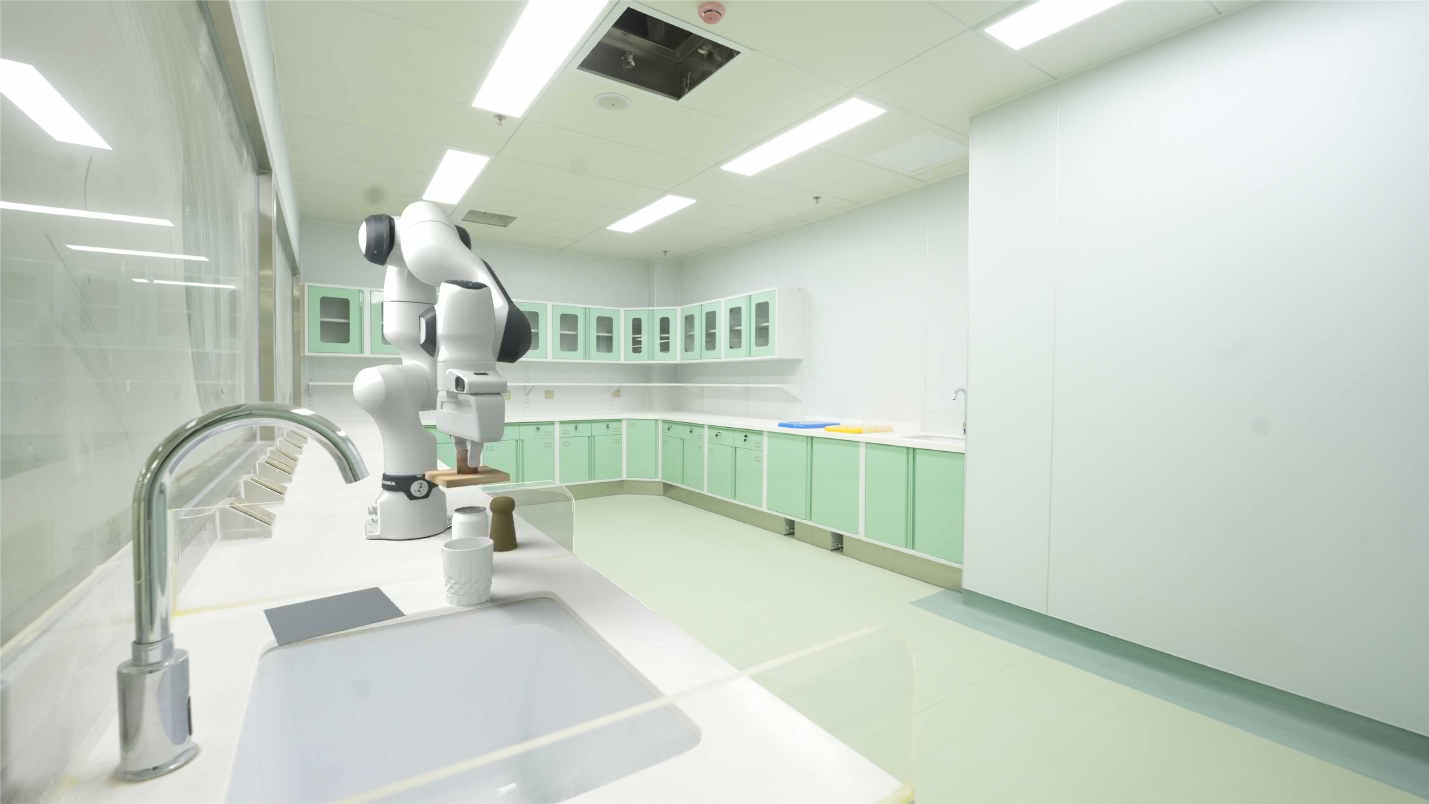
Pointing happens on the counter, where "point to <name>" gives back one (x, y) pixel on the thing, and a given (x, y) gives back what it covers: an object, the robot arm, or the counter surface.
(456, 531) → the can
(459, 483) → the lid
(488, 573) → the white cup
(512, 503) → the olive pepper grinder
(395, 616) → the mat
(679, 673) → the counter surface
